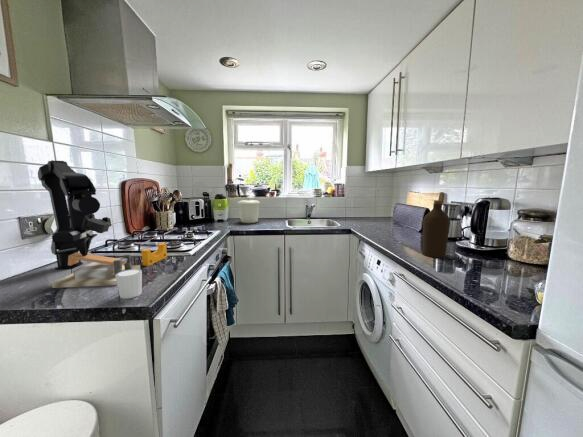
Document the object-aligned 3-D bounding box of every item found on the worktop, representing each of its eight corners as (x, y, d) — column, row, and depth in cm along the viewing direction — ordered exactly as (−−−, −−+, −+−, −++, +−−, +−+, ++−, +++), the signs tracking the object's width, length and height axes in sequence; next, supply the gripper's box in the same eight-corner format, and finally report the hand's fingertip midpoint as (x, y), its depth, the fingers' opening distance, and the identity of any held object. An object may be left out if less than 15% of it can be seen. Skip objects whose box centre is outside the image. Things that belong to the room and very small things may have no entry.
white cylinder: (125, 290, 82) (123, 269, 81) (147, 289, 82) (145, 268, 81) (112, 300, 75) (109, 277, 74) (137, 299, 76) (134, 276, 74)
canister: (236, 221, 213) (235, 196, 210) (258, 220, 219) (257, 195, 215) (239, 225, 196) (238, 197, 193) (262, 223, 202) (261, 196, 198)
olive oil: (441, 260, 110) (446, 202, 106) (416, 254, 118) (420, 200, 114) (450, 255, 117) (455, 200, 113) (426, 250, 125) (430, 199, 121)
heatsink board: (52, 287, 84) (49, 267, 82) (85, 270, 99) (83, 253, 98) (117, 284, 86) (115, 264, 85) (140, 268, 101) (138, 251, 100)
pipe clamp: (158, 256, 117) (157, 243, 116) (167, 257, 116) (166, 243, 115) (139, 265, 105) (137, 250, 104) (148, 266, 105) (147, 250, 104)
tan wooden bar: (66, 265, 88) (67, 254, 88) (77, 261, 93) (78, 250, 93) (119, 273, 90) (120, 262, 90) (126, 268, 95) (128, 257, 95)
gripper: (86, 215, 80) (91, 263, 82) (119, 208, 98) (123, 248, 101) (47, 215, 79) (54, 264, 81) (88, 208, 97) (92, 248, 100)
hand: (84, 255), depth 91 cm, fingers closed, pressing on tan wooden bar
